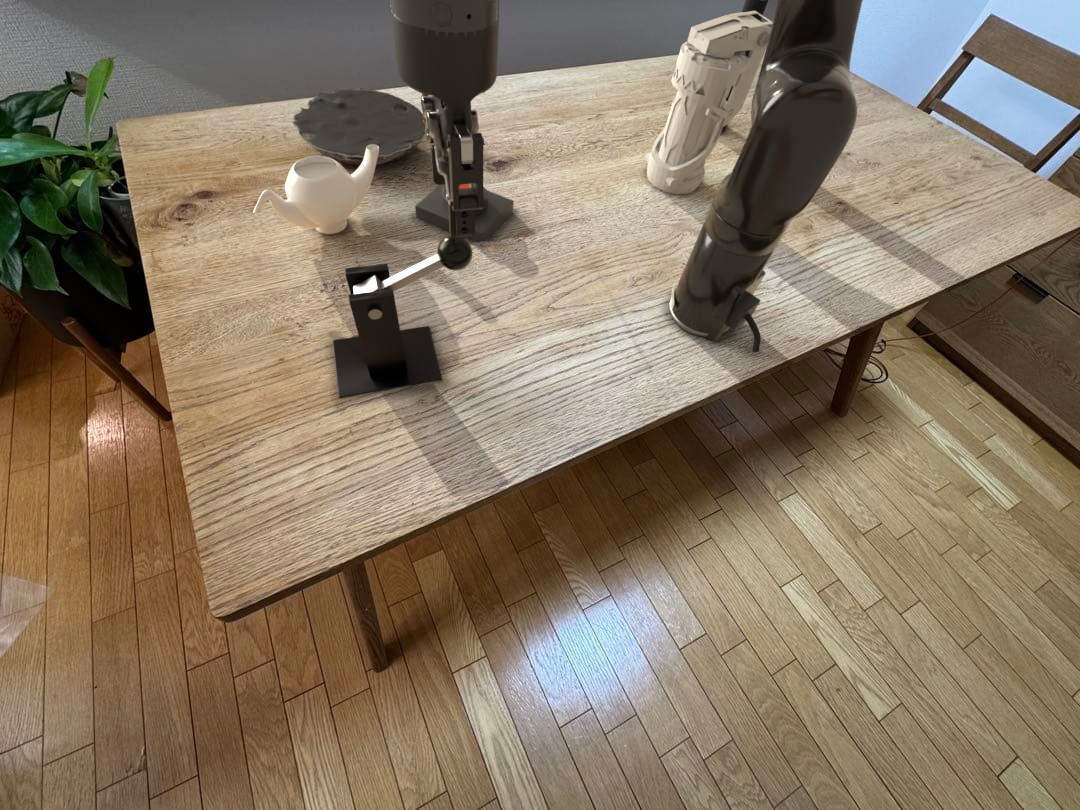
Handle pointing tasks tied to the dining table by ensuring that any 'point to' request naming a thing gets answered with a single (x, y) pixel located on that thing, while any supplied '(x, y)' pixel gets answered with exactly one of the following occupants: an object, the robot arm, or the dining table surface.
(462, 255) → the lever
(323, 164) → the teapot
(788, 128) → the robot arm
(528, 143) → the dining table surface
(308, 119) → the board
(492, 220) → the control block
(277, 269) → the dining table surface
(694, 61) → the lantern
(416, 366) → the bracket
